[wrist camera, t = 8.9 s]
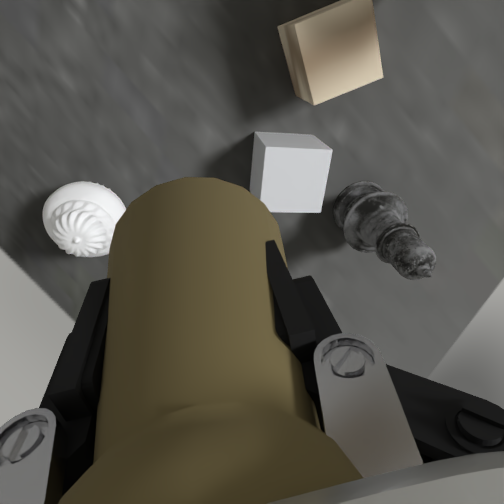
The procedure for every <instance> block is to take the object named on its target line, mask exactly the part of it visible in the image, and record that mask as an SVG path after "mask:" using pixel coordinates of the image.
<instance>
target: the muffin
mask: <svg viewBox="0 0 504 504" xmlns="http://www.w3.org/2000/svg"><path fill="white" fill-rule="evenodd" d="M125 211H126V208H125V206H124V204H123V203H122V201H121V199H120V198H119V197H118V196H117V195H116V193H113V192H112V191H111V190H110V189H107V188H106V187H104V185H99V184H98V183H96V184H95V183H92V182H84V181H82V182H74V183H69V184H67V185H64V186H62V187H60V188H59V189H57V190H56V191H55V192H53V193H52V194H51V195H50V196H49V198H48V199H47V200H46V202H45V204H44V207H43V223H44V226H45V229H46V231H47V233H48V235H49V236H50V237H51V239H52V240H53V241H54V242H55V243H56V244H57V245H58V246H59V248H60V249H63V250H65V251H66V253H67V254H74V255H75V256H76V257H78V256H81V257H98V256H103V255H106V254H109V249H110V245H111V241H112V237H113V233H114V229H115V225H116V223H117V222H118V220H119V219H120V218H121V216H122V215H123V213H124V212H125Z"/></svg>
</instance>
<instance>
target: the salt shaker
mask: <svg viewBox="0 0 504 504" xmlns="http://www.w3.org/2000/svg"><path fill="white" fill-rule="evenodd" d="M333 215H334V220H335V222H336V224H337V225H338V226H339V227H340V228H341V229H343V231H344V237H345V239H346V241H347V243H348V244H349V245H350V246H351V247H352V248H354V249H356V250H358V251H361V252H366V253H367V252H376V254H377V257H378V258H379V259H380V260H381V261H383V262H385V263H390V264H391V265H392V266H393V267H394V268H395V269H396V270H397V271H398V272H399V274H400V275H401V276H403V277H405V278H407V279H410V280H418V279H422V278H424V277H431V276H432V271H433V269H434V268H435V265H436V255H435V253H434V251H433V250H432V249H431V248H430V247H429V246H428V245H427V244H425V243H424V242H423V241H422V240H421V239H420V238H419V233H418V231H417V230H416V229H415V227H413V226H412V225H410V224H407V219H408V209H407V207H406V204H405V202H404V201H403V200H402V198H401V197H399V196H398V195H396V194H394V193H392V192H387V191H384V190H383V189H382V188H381V187H380V186H379V185H377V184H376V183H374V182H370V181H360V182H357V183H353V184H352V185H350V186H348V187H347V188H345V189H344V190H343V191H342V192H341V193H340V195H339V196H338V198H337V199H336V202H335V204H334V209H333Z"/></svg>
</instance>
